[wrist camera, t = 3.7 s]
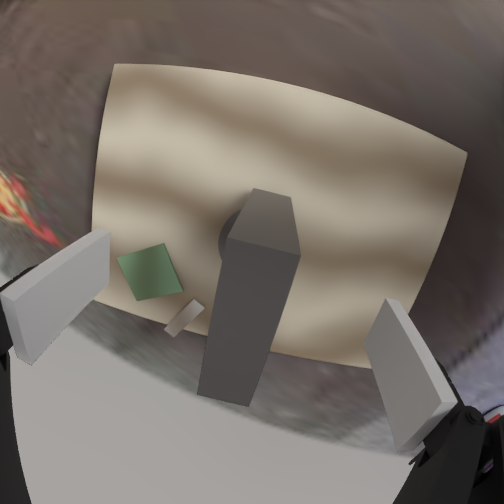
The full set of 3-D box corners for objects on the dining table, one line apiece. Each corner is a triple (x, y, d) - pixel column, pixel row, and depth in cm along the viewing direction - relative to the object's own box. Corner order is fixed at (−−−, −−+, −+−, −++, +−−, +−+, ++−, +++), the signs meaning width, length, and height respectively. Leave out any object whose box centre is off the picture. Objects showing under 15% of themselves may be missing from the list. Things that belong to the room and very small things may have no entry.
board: (124, 67, 16) (111, 62, 15) (456, 151, 16) (470, 153, 15) (102, 310, 24) (92, 321, 22) (363, 374, 24) (367, 388, 22)
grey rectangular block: (295, 198, 17) (310, 258, 9) (248, 360, 22) (232, 461, 13) (248, 186, 17) (216, 234, 9) (212, 351, 22) (182, 449, 13)
